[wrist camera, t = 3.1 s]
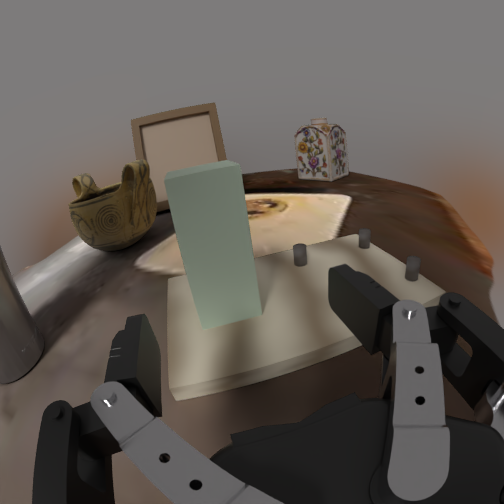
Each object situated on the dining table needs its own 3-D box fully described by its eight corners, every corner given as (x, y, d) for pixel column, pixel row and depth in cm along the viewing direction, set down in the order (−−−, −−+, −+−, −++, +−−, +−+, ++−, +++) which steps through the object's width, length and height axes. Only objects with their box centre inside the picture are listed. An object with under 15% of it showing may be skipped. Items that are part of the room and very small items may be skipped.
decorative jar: (331, 182, 71) (326, 117, 64) (297, 180, 79) (290, 120, 72) (350, 175, 79) (345, 117, 71) (318, 173, 86) (312, 119, 79)
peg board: (176, 400, 17) (158, 369, 15) (171, 289, 31) (163, 263, 30) (442, 305, 21) (450, 272, 19) (355, 244, 35) (355, 219, 34)
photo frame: (234, 198, 67) (218, 98, 57) (147, 218, 63) (127, 117, 53) (223, 189, 81) (210, 107, 71) (151, 205, 76) (135, 123, 66)
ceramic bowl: (66, 257, 47) (45, 188, 41) (123, 226, 61) (108, 165, 54) (125, 272, 37) (97, 170, 31) (193, 228, 50) (178, 148, 44)
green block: (202, 330, 21) (163, 179, 17) (197, 298, 26) (167, 172, 21) (262, 314, 22) (240, 164, 17) (247, 285, 27) (227, 159, 22)
